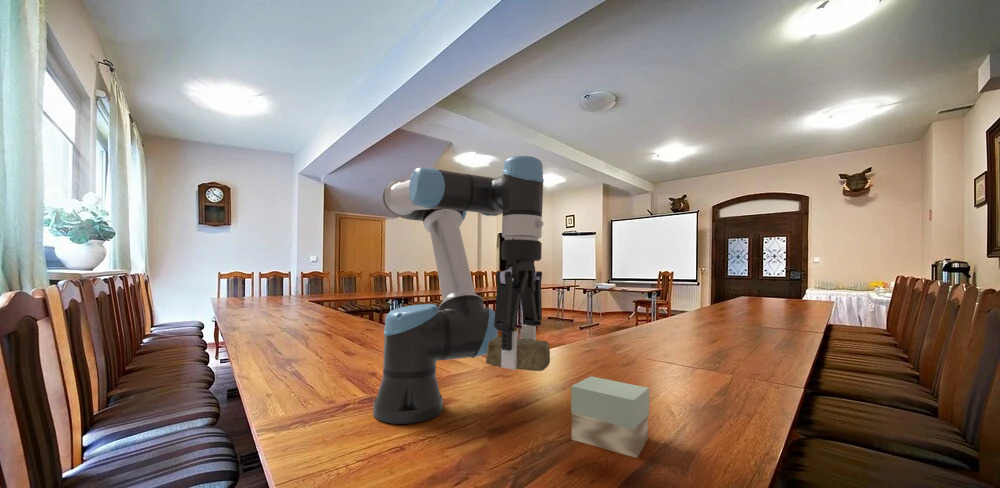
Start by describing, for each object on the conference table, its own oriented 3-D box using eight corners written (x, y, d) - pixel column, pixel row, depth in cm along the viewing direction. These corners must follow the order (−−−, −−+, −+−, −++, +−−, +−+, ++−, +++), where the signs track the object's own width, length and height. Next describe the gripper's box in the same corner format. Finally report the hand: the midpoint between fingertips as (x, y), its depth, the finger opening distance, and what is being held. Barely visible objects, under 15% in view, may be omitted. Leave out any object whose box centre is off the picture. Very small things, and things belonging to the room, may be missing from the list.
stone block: (545, 374, 64) (546, 345, 64) (483, 367, 67) (483, 340, 68) (551, 365, 69) (551, 339, 70) (493, 359, 73) (493, 334, 73)
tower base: (571, 440, 70) (571, 413, 71) (588, 424, 78) (588, 400, 78) (636, 459, 64) (636, 429, 64) (648, 440, 71) (647, 413, 72)
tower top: (571, 412, 71) (571, 386, 72) (590, 400, 78) (590, 376, 79) (634, 429, 64) (633, 400, 64) (649, 414, 71) (648, 387, 71)
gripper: (513, 235, 59) (509, 381, 58) (560, 242, 76) (558, 356, 75) (475, 236, 63) (470, 372, 62) (528, 243, 80) (525, 350, 79)
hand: (518, 363), depth 68 cm, fingers closed on stone block, 7 cm apart
